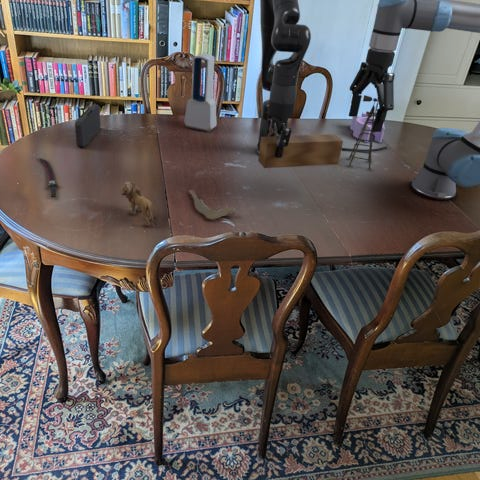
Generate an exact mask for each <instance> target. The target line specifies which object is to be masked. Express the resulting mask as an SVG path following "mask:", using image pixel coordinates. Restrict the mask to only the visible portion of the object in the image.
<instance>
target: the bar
mask: <svg viewBox="0 0 480 480" xmlns="http://www.w3.org/2000/svg"><path fill="white" fill-rule="evenodd" d="M279 141H280V138H279ZM285 142H286V140H285ZM343 145H344V139H342V138H341V137H339V135H337V134H335V133H333V134H332V133H331V134H305V135H304V134H302V135H301V134H300V135H290V139H289V143H288V146H286V147H284V149H283V155H282V157H281V158H276V157H275V152H276V146H277V145H276V138H275V136H269V137H261V142H260V151H259V154H258V158H257V159H258V161H257V162H258V163H259V164H260V165H261V166H262V167H263V169H276V168H294V167H313V166H314V167H315V166H330V165H331V166H332V165H339V163H340V157H341V153H342V150H341V149H342V148H343Z"/></svg>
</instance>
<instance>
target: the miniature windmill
mask: <svg viewBox="0 0 480 480" xmlns="http://www.w3.org/2000/svg"><path fill="white" fill-rule="evenodd" d="M372 101H373V105H372V106H371V109H370V111H368V110H367V111H365V113H366V115H367V116H368V117H367V118H366V122H365V124H364V126H363V128H362V129H361V133H360V135H359V137H358V138H356V142H355V144H354V145H353V148H352V149H353V150H352V151H350V152H351V153H350V154H349V157H348V159H349V160H350V161H349V164H348V167H351V165H352V163H353V160H354V159H357V160H364V161H367V162H368V170H371V165H372V163H371V162H372V161H373V159H372V152H373V151H372V149H373V137H374V135H373V132H372V128H373V124H374V119H375V117H376V113H377V109H378V108H379V102H378V96H377V98H376V97H372V96H369V95H365V94H364V95H363V97H362V102H368V103H369V102H372ZM375 103H376V104H375ZM370 118H372V120H371V119H370ZM369 120H370V121H372V122H368V121H369ZM368 123H372V128H371V130H368V129H366V126H367V124H368ZM365 130H367V131H371V134H370V133H364V131H365ZM361 134H362V135H361ZM363 134H369V135H370V137H369V140H363V139H361V138H362V136H363ZM360 136H361V137H360ZM361 141H363V142H364V141H368V142H369V145H368V144H364V143H363V144H362V143H361ZM359 146H362V147H363V146H364V147H369V148H368V149H369V151H357V149H359ZM356 153H361V154H368V157H367V158H364V157H358V156H356Z"/></svg>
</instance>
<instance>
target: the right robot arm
mask: <svg viewBox="0 0 480 480" xmlns="http://www.w3.org/2000/svg"><path fill="white" fill-rule="evenodd" d="M402 29H405V30H408V29H409V30H415V31H416V30H417V31H424V32H425V31H426V32H430V33H433V32H438V33H440V32H444V31H445V30H446V29H448V30H455V31H461V32H470V33H477V34H480V3H476V2H469V1H467V2H466V1H461V0H379V1H378V3H377V9H376V14H375V19H374V24H373V28H372V31H371V35H370V39H369V42H368V43H369V44H368V46H369V49H368V50H367V53H366V58H365V62H364V61H362V62H361V63H360V67H359V70H358V71H357V73H356V75H355V77H354V79H353V81H352V83H351V84H350V86H349V91H350V92H351V94H352V96H351V101H350V108H349V112H348V117H353V116H357V115H358V114H359V110H360V106H361V102H362V99H363V95H362V94H363V92H364V90H366V88H367V87H368V86H369V85H370V84H372V85H373V87H374V88H375V90H376V96H377V97H378V99H377V100H378V101H377V102H379V103H378V108H377V111H376V117H374V119H375V121H374V125H373V128H372V132H381V130H382V126H383V123H384V124H385V121H386V117H387V114H388V111H393V110H394V109H395V108H394V107H395V101H394V100H395V99H394V98H395V97H394V94H395V93H394V81H395V77H396V75H395V72H389V68H391V67H392V66H393V64H394V60H395V57H396V53H395V51H396V50H397V47H398V43H399V40H400V36H401V32H402ZM358 116H359V115H358ZM479 185H480V120H479V121H478V122H477V124H476V125H475V127H474V128H473V129H472V130H471V132H469V131H466V130H464V129H463V130H462V129H458V128H453V127H438V128H436V129H435V131H434V132H433V134H432V137H431V140H430V143H429V146H428V150H427V152H426V156H425V158H424V162H423V165H422V167H421V169H419V171H418V173H417V174H416V176H415V177H414V178H413V180H412V182H411V185H410V187H411V189H412V190H413V191H414V192H415V193H416V194H418V195H420V196H422V197H424V198H427V199H431V200H436V201H449V200H453V199H454V198H455V196H456V193H457V187H456V186H459V187H461V188H462V187H463V188H472V187H477V186H479Z"/></svg>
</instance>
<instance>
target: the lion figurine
mask: <svg viewBox="0 0 480 480" xmlns="http://www.w3.org/2000/svg"><path fill="white" fill-rule="evenodd" d="M119 193H120V194H121V196H122V197H124V196H125V198H126V199H127V200H128V202H129V203H130V207H131V211H130V212H129V213H130V215H135V214H136V211H137V212H141V214H142V216H143V218H144V219H145V223H144V225H145V227H149V226H150V221H152V223H153V225H155V226H159V222H156V221H155V219H154V217H153V216H154V215H153V204H152V202H151V200H150V199H148V198H146V197H145V196H144V195H143V194H142V192H141V190H140V187H138V185H136V184H135V183H133V182H132V181H125V182H124V186H122V188H121V189H119ZM136 207H137V208H136ZM148 214H149V216H148Z"/></svg>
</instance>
